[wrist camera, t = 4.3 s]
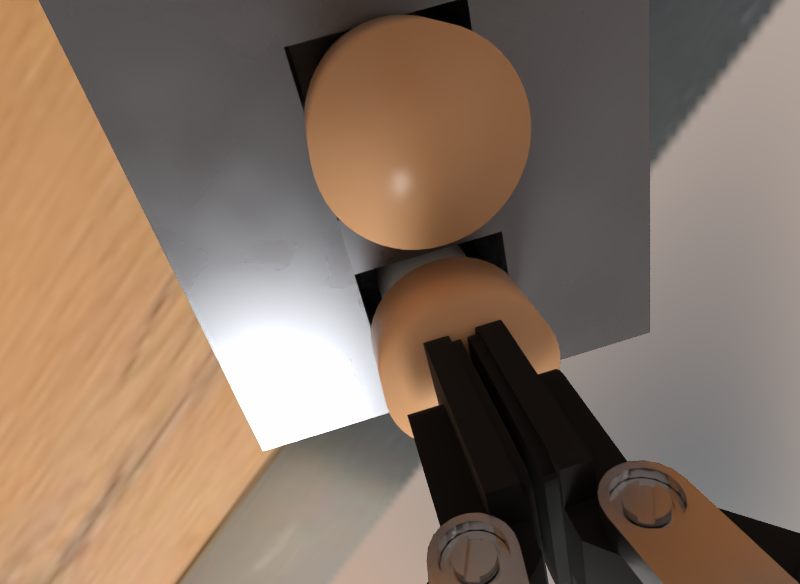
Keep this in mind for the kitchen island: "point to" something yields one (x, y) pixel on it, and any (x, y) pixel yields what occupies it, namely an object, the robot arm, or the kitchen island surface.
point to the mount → (309, 213)
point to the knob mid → (415, 130)
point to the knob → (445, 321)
